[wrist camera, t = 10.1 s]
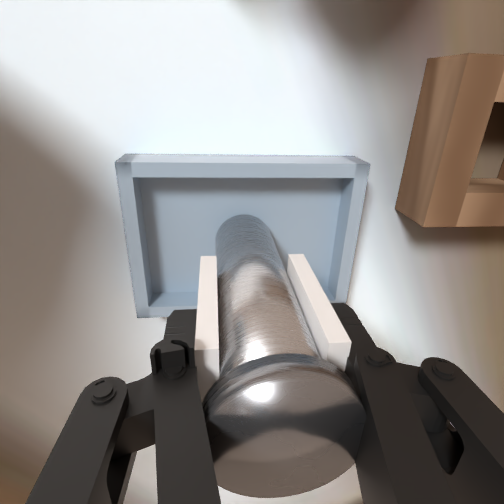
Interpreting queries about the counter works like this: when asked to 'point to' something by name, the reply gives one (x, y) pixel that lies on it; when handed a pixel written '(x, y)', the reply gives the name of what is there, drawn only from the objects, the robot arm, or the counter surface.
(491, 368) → the counter surface
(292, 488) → the pin
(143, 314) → the tray
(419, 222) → the socket block
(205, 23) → the counter surface
